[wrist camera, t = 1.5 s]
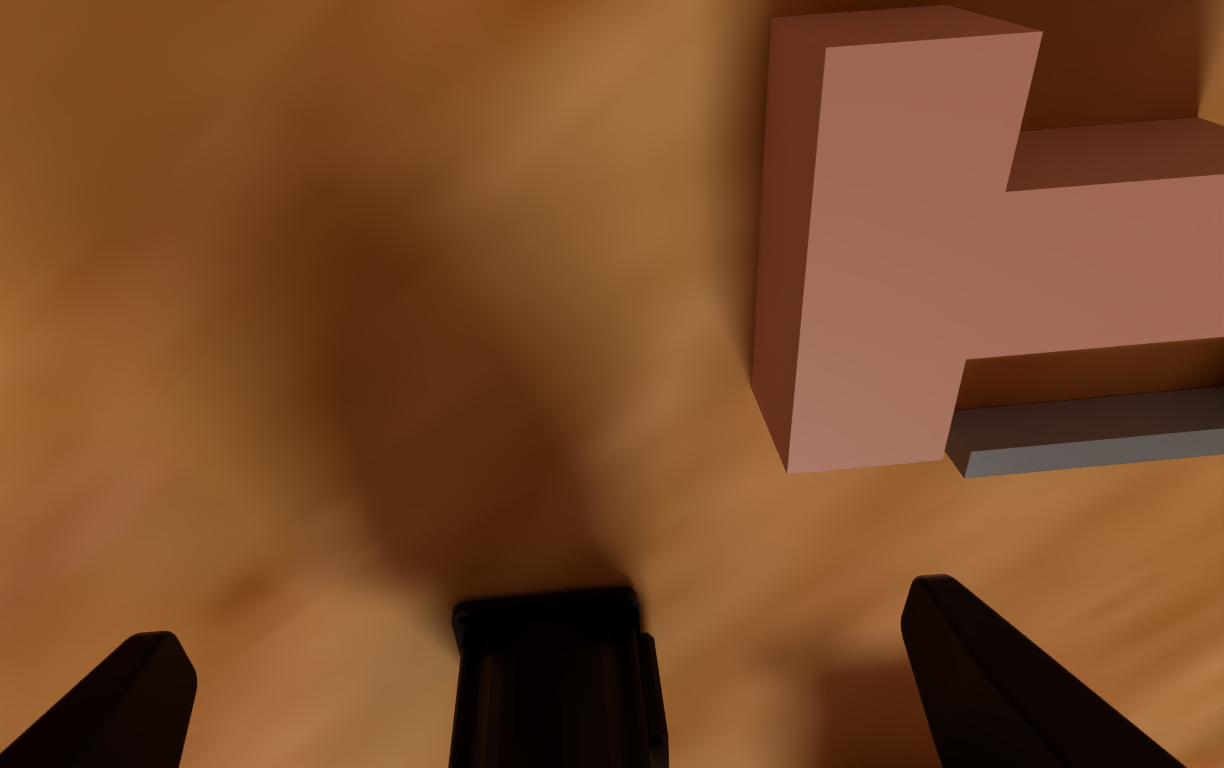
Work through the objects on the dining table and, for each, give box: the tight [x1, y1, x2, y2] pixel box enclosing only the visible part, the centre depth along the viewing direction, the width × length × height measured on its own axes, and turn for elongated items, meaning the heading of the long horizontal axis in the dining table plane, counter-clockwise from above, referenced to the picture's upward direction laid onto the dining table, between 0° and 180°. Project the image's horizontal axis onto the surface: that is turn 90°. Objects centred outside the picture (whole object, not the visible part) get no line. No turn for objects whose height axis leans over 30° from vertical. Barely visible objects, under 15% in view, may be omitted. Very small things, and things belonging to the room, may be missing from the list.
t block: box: [751, 5, 1224, 474], centre depth 18 cm, size 11×10×4 cm
